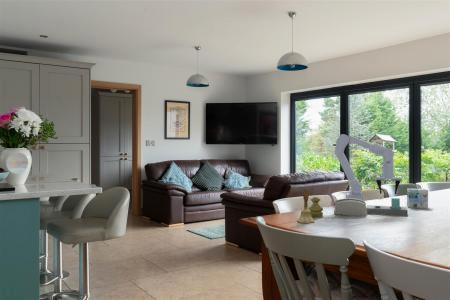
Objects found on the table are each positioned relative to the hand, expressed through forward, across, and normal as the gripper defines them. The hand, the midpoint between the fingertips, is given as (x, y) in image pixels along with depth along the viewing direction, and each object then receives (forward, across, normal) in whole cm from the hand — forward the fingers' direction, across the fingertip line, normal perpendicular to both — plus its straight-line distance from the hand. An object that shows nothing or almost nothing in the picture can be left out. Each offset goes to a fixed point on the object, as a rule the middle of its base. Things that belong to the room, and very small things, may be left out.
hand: (388, 193), depth 214 cm
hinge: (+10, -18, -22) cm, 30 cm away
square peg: (+9, +4, -10) cm, 14 cm away
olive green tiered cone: (+10, -34, -34) cm, 49 cm away
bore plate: (+9, -1, -10) cm, 14 cm away
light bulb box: (+10, +16, +19) cm, 27 cm away
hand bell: (+10, -36, -50) cm, 62 cm away
